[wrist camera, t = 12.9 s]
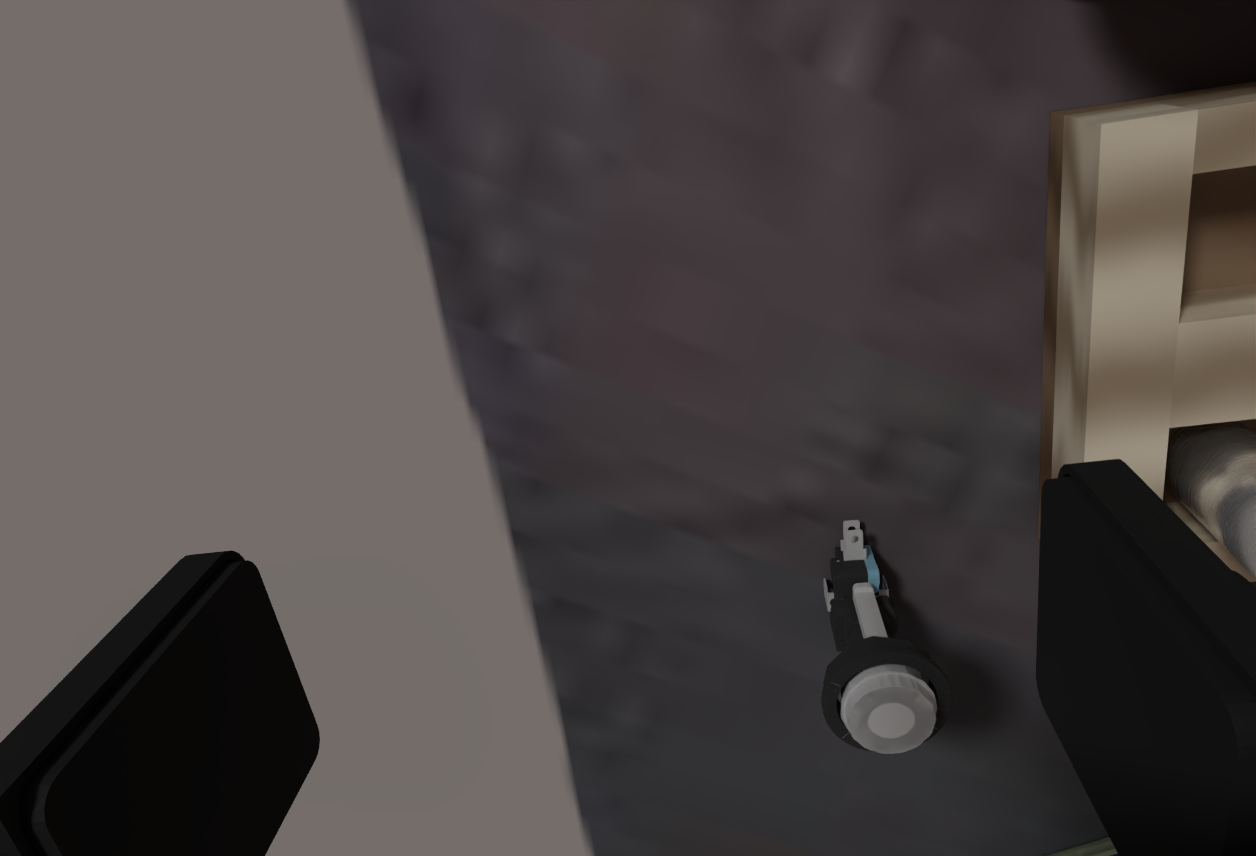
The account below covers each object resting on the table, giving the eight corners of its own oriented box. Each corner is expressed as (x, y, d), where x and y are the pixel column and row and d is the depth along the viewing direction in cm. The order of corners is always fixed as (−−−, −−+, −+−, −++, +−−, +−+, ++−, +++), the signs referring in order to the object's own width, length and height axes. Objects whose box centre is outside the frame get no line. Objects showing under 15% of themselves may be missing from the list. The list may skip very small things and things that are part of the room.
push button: (796, 518, 44) (822, 644, 35) (906, 510, 44) (961, 637, 34) (802, 628, 47) (827, 772, 38) (906, 622, 46) (957, 767, 37)
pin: (1147, 410, 39) (1279, 526, 30) (1246, 399, 38) (1411, 514, 29) (1142, 490, 41) (1266, 624, 31) (1237, 480, 40) (1391, 613, 31)
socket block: (1050, 112, 36) (1101, 124, 31) (1375, 62, 34) (1480, 67, 30) (1037, 537, 44) (1077, 596, 39) (1302, 512, 42) (1375, 571, 38)
